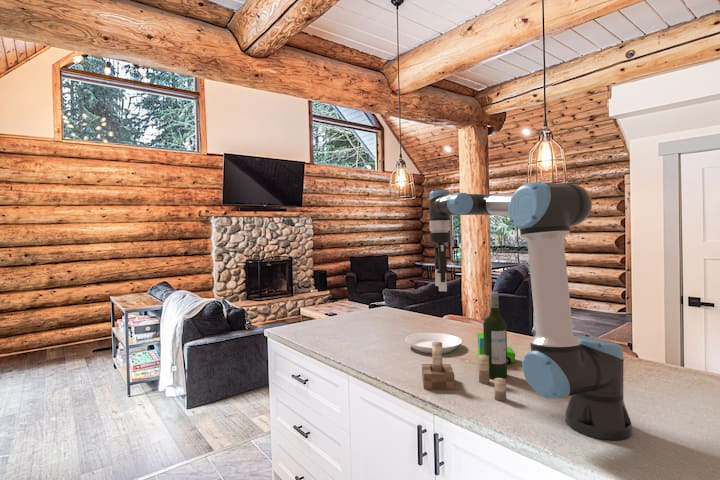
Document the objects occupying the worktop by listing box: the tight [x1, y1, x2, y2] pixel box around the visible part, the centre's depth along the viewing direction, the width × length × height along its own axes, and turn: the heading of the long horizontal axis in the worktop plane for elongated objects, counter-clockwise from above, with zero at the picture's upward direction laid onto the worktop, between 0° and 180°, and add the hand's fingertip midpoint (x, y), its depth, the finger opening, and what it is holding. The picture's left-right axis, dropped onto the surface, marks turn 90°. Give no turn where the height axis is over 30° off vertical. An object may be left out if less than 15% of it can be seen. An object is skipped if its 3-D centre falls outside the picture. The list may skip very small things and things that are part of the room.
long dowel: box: [431, 342, 443, 371], centre depth 137 cm, size 3×3×14 cm
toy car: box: [477, 332, 516, 366], centre depth 159 cm, size 10×13×10 cm
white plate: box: [405, 332, 463, 354], centre depth 180 cm, size 25×25×4 cm
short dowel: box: [493, 378, 507, 402], centre depth 124 cm, size 3×3×6 cm
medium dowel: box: [478, 355, 490, 385], centre depth 138 cm, size 3×3×9 cm
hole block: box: [421, 363, 456, 390], centre depth 137 cm, size 10×10×5 cm
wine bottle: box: [482, 291, 508, 380], centre depth 143 cm, size 8×8×30 cm
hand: (440, 288), depth 150 cm, fingers open, 13 cm apart
